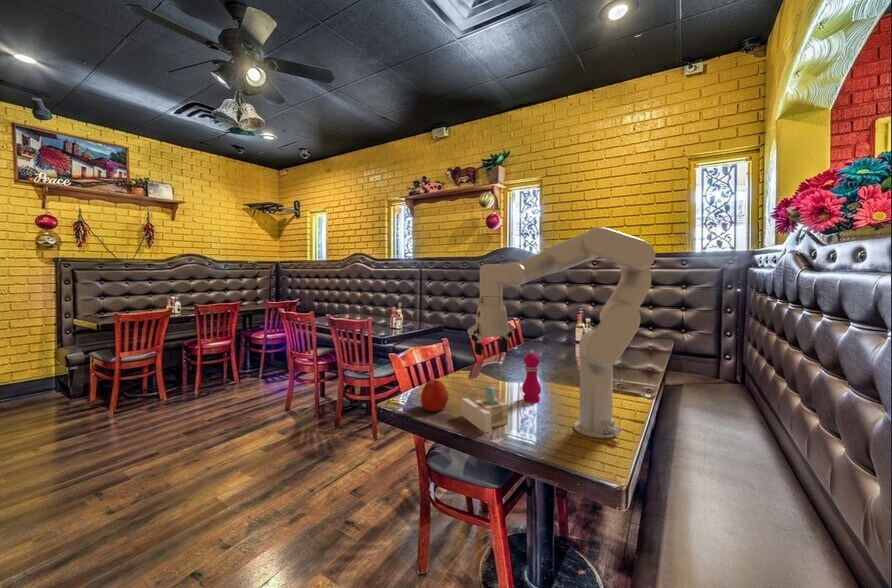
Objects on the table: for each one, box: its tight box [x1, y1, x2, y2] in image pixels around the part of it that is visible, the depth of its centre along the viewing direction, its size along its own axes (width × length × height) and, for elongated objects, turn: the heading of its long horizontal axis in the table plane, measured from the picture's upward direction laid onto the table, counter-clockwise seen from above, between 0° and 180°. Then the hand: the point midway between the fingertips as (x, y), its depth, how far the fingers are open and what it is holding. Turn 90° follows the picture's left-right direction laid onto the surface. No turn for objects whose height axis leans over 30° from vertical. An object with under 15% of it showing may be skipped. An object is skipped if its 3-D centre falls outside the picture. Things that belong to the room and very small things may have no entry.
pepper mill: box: [521, 349, 542, 404], centre depth 146 cm, size 7×7×20 cm
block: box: [473, 397, 509, 428], centre depth 124 cm, size 8×8×6 cm
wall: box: [461, 397, 492, 434], centre depth 123 cm, size 16×2×6 cm, turn 25°
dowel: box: [485, 386, 496, 405], centre depth 124 cm, size 3×3×10 cm
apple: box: [420, 379, 449, 412], centre depth 137 cm, size 10×10×10 cm
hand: (491, 353), depth 123 cm, fingers open, 9 cm apart
